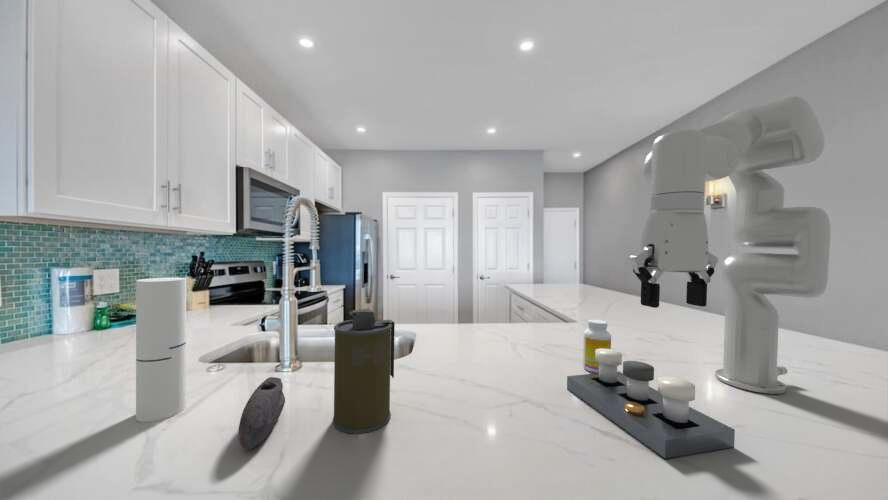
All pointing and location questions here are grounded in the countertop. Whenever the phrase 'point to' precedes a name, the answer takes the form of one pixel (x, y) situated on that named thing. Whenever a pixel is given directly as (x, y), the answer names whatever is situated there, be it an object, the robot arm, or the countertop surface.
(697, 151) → the robot arm
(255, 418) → the perforated stone tool
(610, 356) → the knob
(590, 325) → the supplement bottle
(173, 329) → the cylindrical container
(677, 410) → the knob
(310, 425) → the countertop surface
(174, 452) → the countertop surface
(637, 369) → the knob middle
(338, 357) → the canister
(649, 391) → the panel
